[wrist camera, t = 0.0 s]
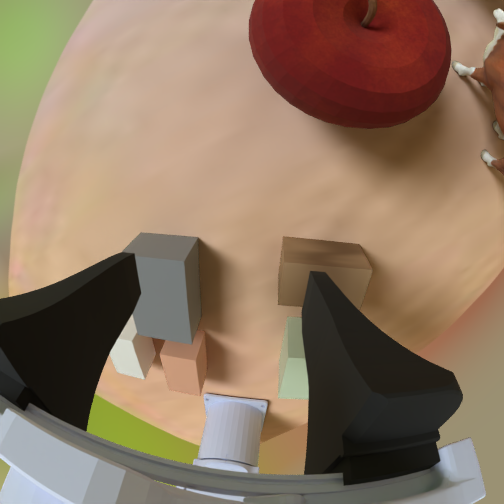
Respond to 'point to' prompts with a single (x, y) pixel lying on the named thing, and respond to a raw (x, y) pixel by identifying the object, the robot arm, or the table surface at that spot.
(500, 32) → the bull figurine
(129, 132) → the table surface
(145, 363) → the pale grey brick
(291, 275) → the walnut brick
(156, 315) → the charcoal brick
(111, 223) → the table surface
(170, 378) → the terracotta brick
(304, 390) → the sage brick
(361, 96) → the apple
